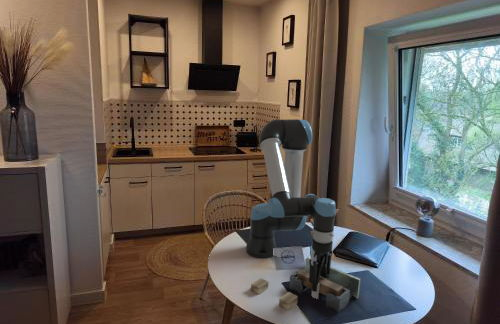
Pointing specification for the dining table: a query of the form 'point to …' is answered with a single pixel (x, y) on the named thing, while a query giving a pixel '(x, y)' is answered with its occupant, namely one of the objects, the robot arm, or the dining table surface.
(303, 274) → the rail
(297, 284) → the bracket
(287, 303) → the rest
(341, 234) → the dining table surface
